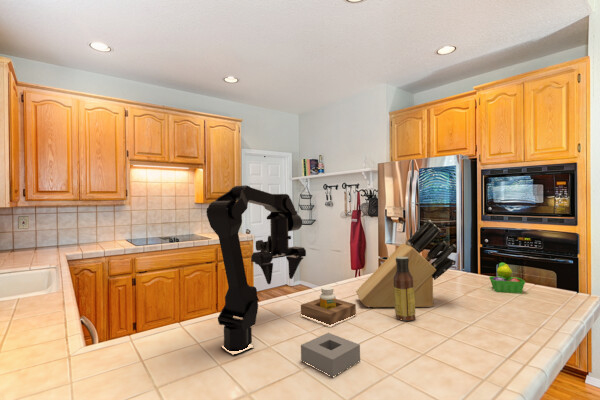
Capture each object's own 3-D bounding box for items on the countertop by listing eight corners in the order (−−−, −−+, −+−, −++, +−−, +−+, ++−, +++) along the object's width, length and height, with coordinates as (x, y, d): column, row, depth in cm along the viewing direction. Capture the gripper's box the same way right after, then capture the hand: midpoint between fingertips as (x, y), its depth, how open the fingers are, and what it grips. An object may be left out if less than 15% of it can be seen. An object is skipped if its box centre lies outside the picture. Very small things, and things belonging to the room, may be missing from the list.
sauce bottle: (412, 315, 105) (411, 255, 105) (417, 322, 98) (416, 259, 99) (392, 314, 105) (391, 255, 105) (396, 321, 99) (395, 259, 99)
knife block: (460, 308, 111) (458, 220, 111) (360, 309, 111) (359, 222, 112) (446, 298, 122) (444, 219, 122) (355, 299, 122) (354, 220, 123)
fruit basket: (494, 292, 128) (493, 265, 128) (488, 287, 137) (487, 261, 137) (526, 294, 125) (525, 266, 125) (518, 288, 133) (517, 262, 134)
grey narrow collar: (332, 378, 68) (332, 359, 68) (301, 361, 75) (300, 344, 75) (360, 361, 75) (359, 344, 75) (328, 347, 82) (328, 332, 82)
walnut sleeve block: (330, 327, 95) (330, 314, 95) (300, 316, 105) (300, 304, 105) (355, 316, 104) (355, 304, 104) (326, 307, 114) (326, 296, 114)
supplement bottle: (328, 312, 108) (328, 285, 108) (339, 317, 104) (338, 288, 104) (316, 316, 105) (316, 287, 105) (327, 321, 101) (326, 291, 101)
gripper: (285, 229, 113) (285, 272, 113) (241, 233, 100) (241, 282, 100) (306, 231, 105) (307, 277, 105) (261, 236, 92) (262, 288, 92)
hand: (280, 281), depth 101 cm, fingers open, 9 cm apart
